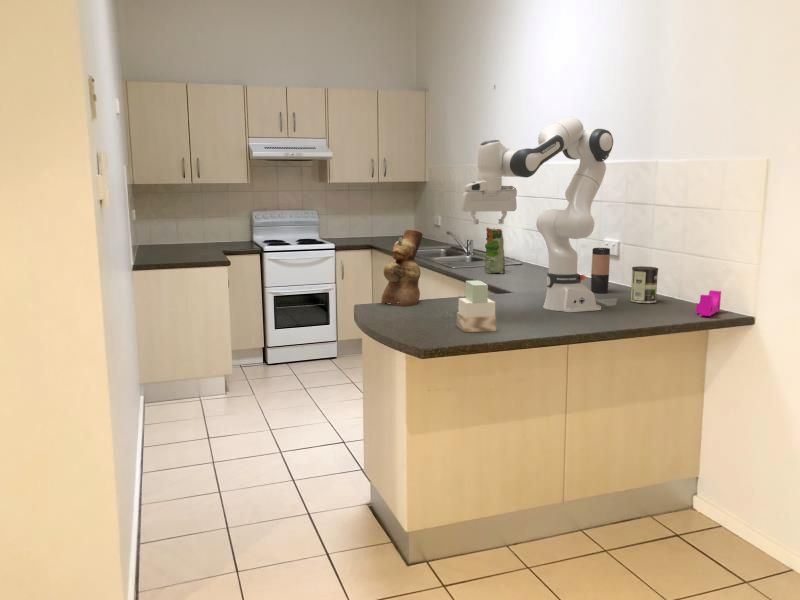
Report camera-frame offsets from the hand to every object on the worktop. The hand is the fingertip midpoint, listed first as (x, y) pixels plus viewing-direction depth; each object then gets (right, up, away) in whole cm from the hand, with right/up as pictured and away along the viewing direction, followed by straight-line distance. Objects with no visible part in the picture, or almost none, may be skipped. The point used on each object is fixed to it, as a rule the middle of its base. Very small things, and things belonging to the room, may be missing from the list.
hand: (488, 224), depth 256 cm
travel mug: (+57, -25, +57) cm, 84 cm away
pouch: (+18, -14, +123) cm, 125 cm away
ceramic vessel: (-30, -29, +33) cm, 54 cm away
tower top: (-6, -33, -17) cm, 37 cm away
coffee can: (+69, -29, +36) cm, 83 cm away
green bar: (-6, -28, -18) cm, 34 cm away
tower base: (-6, -38, -16) cm, 42 cm away
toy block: (+85, -33, +13) cm, 92 cm away
